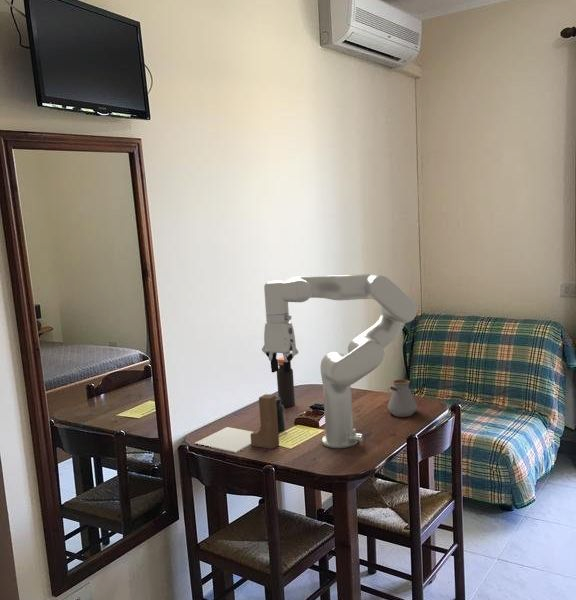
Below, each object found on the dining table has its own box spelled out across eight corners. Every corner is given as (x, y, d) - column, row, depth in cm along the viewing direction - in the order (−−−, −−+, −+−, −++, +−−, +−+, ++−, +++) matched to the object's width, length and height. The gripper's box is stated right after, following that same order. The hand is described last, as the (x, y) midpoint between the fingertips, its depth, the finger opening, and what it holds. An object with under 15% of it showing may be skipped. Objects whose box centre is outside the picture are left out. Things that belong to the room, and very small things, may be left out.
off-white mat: (267, 435, 222) (267, 434, 222) (235, 453, 208) (235, 451, 208) (227, 428, 233) (227, 426, 233) (194, 444, 219) (194, 442, 218)
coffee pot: (392, 408, 245) (390, 371, 243) (420, 410, 240) (419, 373, 238) (376, 425, 226) (375, 386, 224) (407, 428, 221) (406, 388, 219)
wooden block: (250, 446, 213) (247, 396, 211) (257, 441, 217) (254, 392, 215) (273, 449, 209) (269, 398, 206) (279, 444, 213) (276, 394, 210)
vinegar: (292, 407, 253) (289, 360, 250) (276, 407, 255) (273, 360, 252) (296, 402, 259) (294, 356, 256) (281, 402, 261) (278, 356, 259)
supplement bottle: (269, 433, 224) (267, 402, 223) (265, 427, 231) (263, 397, 229) (287, 430, 226) (285, 399, 225) (282, 425, 233) (280, 394, 231)
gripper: (305, 317, 200) (308, 371, 202) (264, 315, 210) (267, 367, 212) (292, 321, 194) (295, 377, 196) (250, 319, 203) (254, 372, 206)
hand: (281, 371), depth 204 cm, fingers open, 4 cm apart
